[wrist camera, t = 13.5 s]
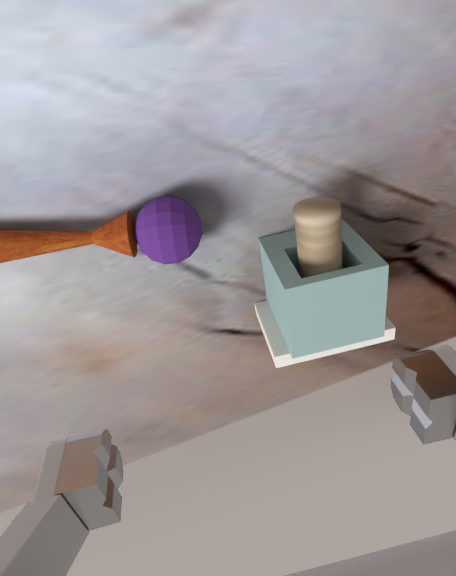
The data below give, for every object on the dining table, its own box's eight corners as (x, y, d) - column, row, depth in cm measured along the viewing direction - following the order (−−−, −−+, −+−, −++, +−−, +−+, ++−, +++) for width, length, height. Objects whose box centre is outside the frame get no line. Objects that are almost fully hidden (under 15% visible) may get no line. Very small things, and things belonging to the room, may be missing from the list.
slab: (254, 303, 46) (274, 357, 38) (355, 279, 46) (395, 327, 39) (256, 313, 47) (276, 368, 39) (355, 289, 47) (394, 339, 40)
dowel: (285, 204, 36) (304, 220, 33) (328, 192, 37) (350, 207, 33) (295, 294, 42) (311, 316, 38) (332, 283, 42) (351, 304, 39)
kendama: (-55, 223, 32) (197, 200, 33) (-18, 208, 38) (197, 188, 38) (-30, 292, 34) (205, 269, 35) (1, 268, 40) (204, 249, 41)
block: (258, 238, 42) (284, 289, 33) (342, 218, 42) (388, 265, 34) (267, 300, 46) (292, 358, 38) (343, 282, 46) (384, 336, 38)
